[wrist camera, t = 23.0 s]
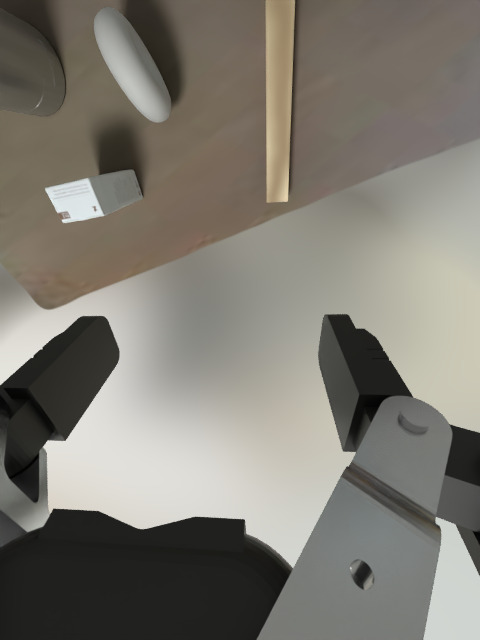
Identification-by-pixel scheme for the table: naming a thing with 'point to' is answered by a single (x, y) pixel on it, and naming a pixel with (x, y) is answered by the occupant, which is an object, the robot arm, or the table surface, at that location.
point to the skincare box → (94, 195)
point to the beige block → (278, 95)
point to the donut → (132, 64)
